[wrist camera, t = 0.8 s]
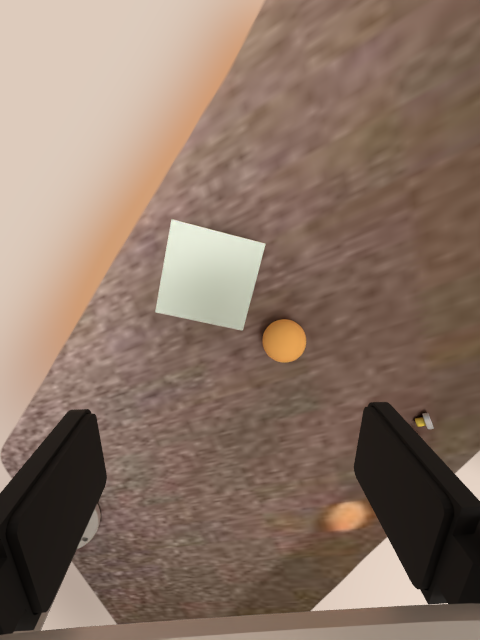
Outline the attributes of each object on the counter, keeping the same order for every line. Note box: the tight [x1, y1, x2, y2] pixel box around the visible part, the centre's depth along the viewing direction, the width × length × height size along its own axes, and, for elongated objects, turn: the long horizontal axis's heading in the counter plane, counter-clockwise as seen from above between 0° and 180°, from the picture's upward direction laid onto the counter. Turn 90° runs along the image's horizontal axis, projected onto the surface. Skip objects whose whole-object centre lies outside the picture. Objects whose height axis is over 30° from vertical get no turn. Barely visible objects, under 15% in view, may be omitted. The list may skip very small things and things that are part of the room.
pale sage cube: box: [155, 220, 265, 331], centre depth 28 cm, size 8×8×9 cm
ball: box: [263, 319, 306, 362], centre depth 33 cm, size 5×5×5 cm
